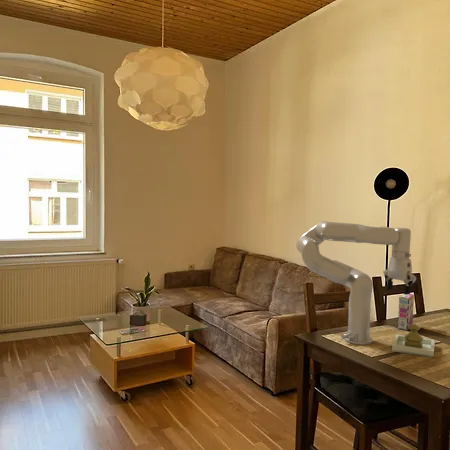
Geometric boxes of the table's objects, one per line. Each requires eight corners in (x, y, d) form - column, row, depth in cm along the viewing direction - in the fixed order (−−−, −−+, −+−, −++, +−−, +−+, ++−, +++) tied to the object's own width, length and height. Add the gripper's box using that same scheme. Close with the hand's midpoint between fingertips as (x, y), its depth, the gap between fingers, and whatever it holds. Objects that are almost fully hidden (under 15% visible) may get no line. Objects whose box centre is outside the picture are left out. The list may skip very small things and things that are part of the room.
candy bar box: (408, 330, 213) (409, 298, 212) (397, 329, 216) (398, 296, 215) (413, 325, 222) (414, 294, 221) (403, 323, 225) (404, 292, 224)
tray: (433, 358, 177) (433, 351, 177) (392, 351, 184) (392, 344, 184) (434, 346, 191) (434, 340, 191) (395, 340, 198) (396, 334, 198)
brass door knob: (413, 350, 183) (414, 327, 182) (400, 345, 190) (401, 322, 189) (426, 348, 186) (427, 325, 185) (412, 343, 193) (413, 321, 192)
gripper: (422, 257, 190) (419, 295, 191) (390, 252, 205) (388, 287, 206) (411, 258, 186) (408, 296, 187) (379, 252, 201) (377, 288, 203)
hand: (398, 292), depth 197 cm, fingers open, 9 cm apart
